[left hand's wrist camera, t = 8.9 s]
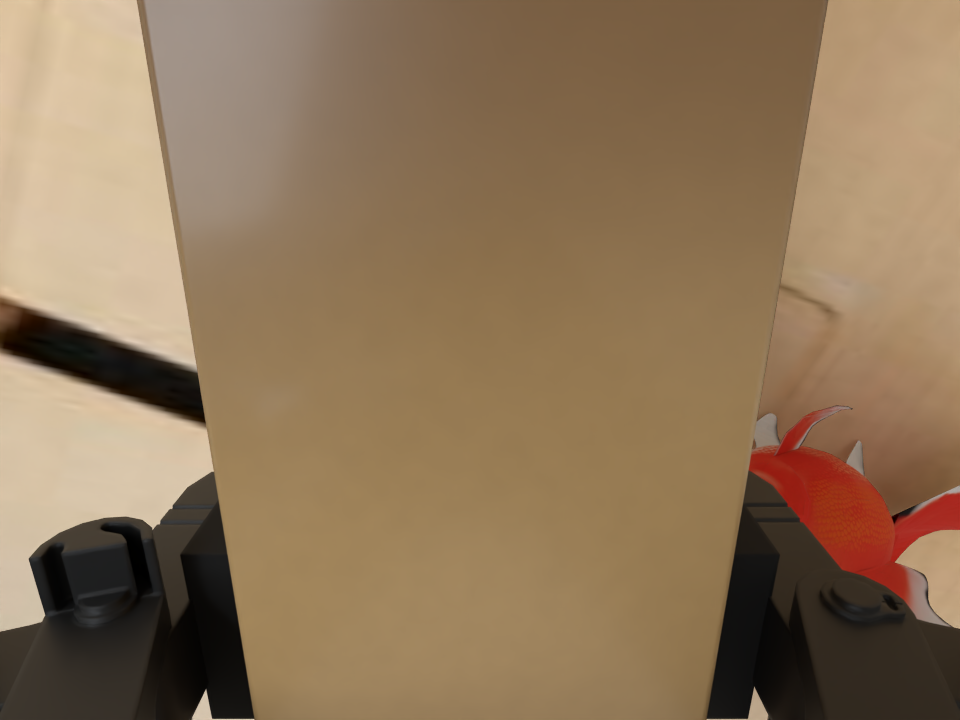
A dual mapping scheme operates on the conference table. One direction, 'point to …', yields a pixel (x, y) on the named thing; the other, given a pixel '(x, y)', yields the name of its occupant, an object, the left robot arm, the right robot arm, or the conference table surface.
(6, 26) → the conference table surface
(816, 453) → the fish
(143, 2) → the bar
